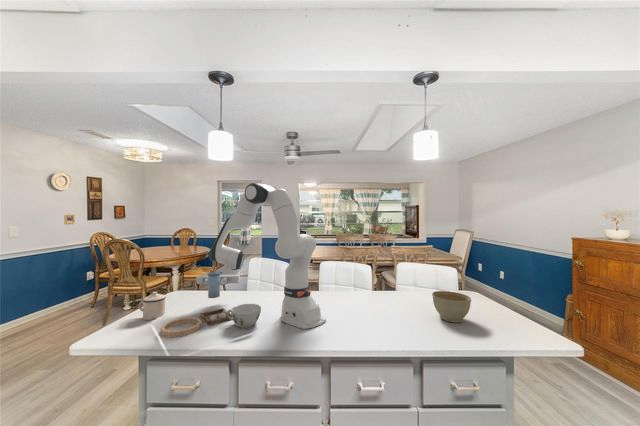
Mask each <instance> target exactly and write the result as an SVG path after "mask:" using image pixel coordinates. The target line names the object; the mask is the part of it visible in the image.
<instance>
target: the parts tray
mask: <svg viewBox="0 0 640 426" xmlns="http://www.w3.org/2000/svg"><path fill="white" fill-rule="evenodd" d="M224 310H226V309H225V308H217V309H215V310H211V311H206V312H201V313H199V319H200V318H201V320H202V321H204V322H205V324H207V325H208V326H213V325H217V324H221V323H224V322H225V323H226V322H229V321H231V320H230V319H229V318H228V316H227V317H225V318H221V319H219V315H220V314H221V313H222V312H223V311H224ZM212 315H215V316H216V317H217V320H213V321H210V320H209V319H210V317H211V316H212ZM229 316H230V317H231V318H232V315H231V312H230V313H229Z"/></svg>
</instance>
